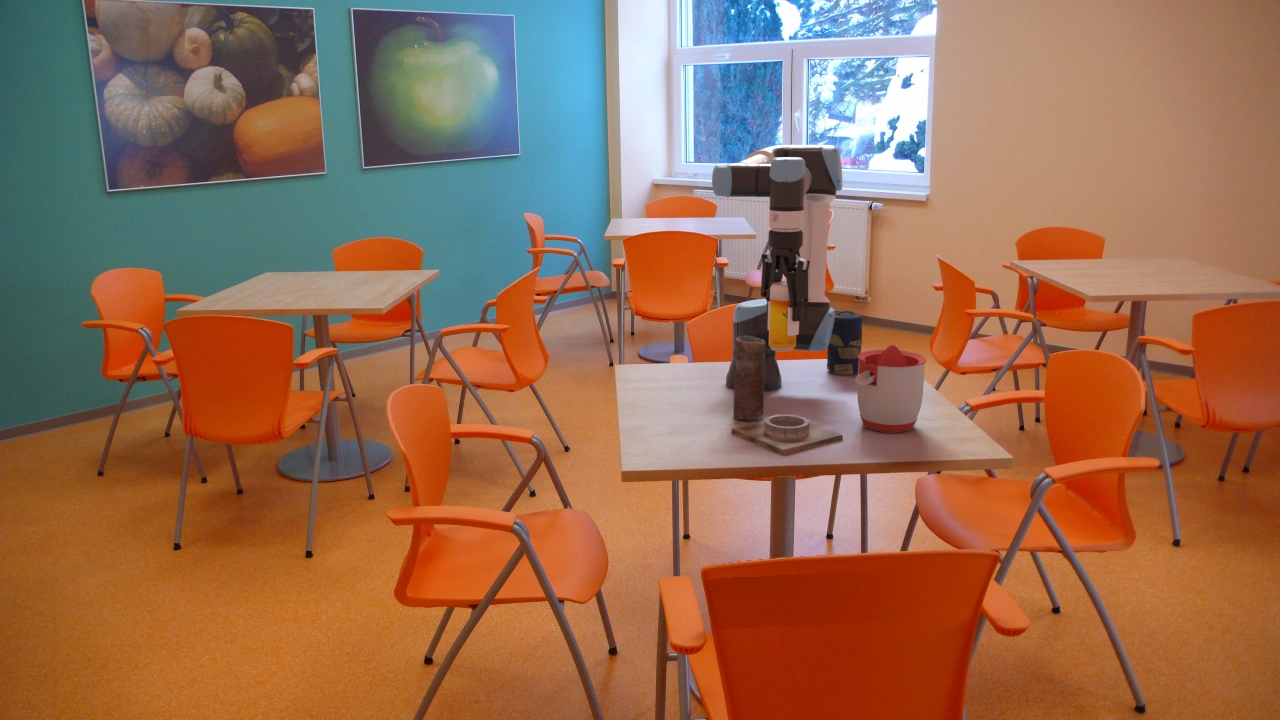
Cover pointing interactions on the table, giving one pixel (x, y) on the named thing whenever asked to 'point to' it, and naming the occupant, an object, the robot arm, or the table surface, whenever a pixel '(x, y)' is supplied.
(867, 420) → the citrus juicer
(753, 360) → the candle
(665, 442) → the table surface
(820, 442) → the can holder
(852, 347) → the canister
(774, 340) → the beer can
